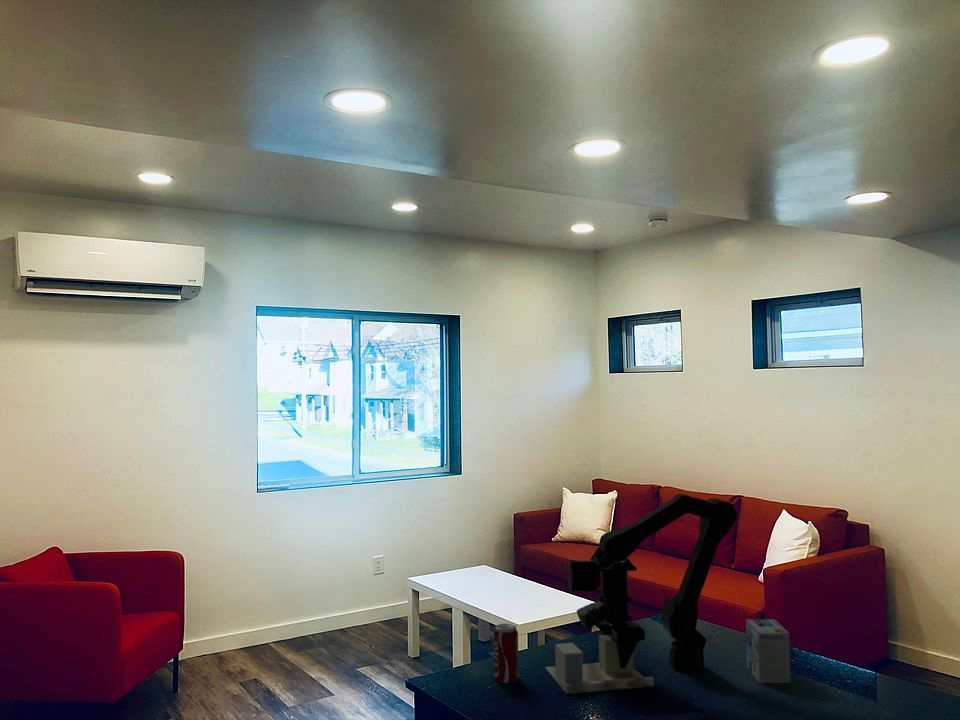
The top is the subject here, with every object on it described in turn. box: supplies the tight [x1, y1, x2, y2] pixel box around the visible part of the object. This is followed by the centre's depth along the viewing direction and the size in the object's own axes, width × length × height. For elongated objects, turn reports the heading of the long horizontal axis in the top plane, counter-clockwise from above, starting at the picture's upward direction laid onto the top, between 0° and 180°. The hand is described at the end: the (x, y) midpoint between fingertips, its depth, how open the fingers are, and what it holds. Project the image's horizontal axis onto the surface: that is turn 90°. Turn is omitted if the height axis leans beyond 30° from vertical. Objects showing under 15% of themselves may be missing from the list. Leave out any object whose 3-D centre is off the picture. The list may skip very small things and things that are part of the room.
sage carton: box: [598, 634, 635, 674], centre depth 169 cm, size 4×7×7 cm, turn 101°
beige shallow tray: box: [544, 662, 655, 694], centre depth 165 cm, size 19×16×2 cm
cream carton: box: [554, 642, 584, 688], centre depth 161 cm, size 4×7×7 cm, turn 11°
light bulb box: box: [745, 618, 791, 684], centre depth 167 cm, size 11×7×11 cm, turn 175°
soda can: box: [493, 623, 519, 684], centre depth 164 cm, size 5×5×12 cm
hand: (616, 662), depth 169 cm, fingers open, 7 cm apart
